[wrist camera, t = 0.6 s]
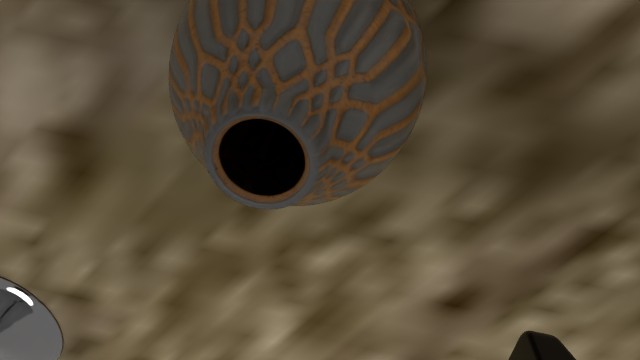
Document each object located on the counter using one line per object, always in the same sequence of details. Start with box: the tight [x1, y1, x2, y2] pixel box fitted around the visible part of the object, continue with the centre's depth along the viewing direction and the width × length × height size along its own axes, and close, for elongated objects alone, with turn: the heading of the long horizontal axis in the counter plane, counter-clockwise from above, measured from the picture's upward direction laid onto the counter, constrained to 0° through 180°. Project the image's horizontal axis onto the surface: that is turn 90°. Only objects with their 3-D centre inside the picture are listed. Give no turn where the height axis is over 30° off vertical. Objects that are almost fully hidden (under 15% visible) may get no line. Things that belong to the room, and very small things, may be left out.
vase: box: [169, 0, 426, 209], centre depth 15 cm, size 7×7×9 cm
